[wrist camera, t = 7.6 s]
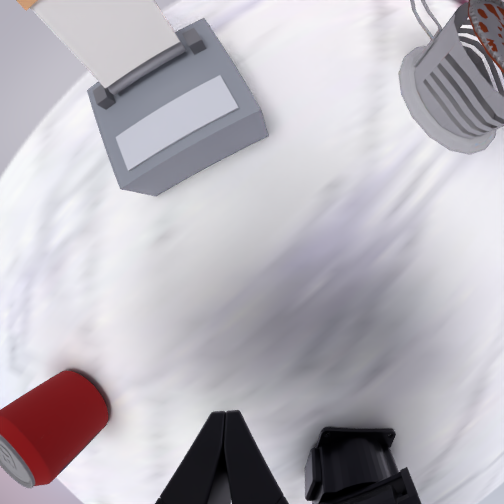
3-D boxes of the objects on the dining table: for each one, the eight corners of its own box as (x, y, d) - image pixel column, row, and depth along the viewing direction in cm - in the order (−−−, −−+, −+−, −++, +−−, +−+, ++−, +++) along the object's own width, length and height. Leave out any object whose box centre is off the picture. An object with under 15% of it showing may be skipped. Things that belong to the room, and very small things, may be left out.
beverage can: (62, 408, 25) (-8, 463, 13) (57, 356, 24) (-31, 406, 12) (114, 435, 24) (48, 508, 12) (112, 383, 23) (27, 456, 11)
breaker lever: (191, 54, 14) (103, -78, 5) (113, 102, 15) (10, -7, 6) (186, 43, 15) (106, -77, 6) (112, 89, 16) (20, -13, 7)
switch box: (268, 136, 20) (258, 101, 14) (155, 196, 21) (110, 187, 15) (220, 54, 20) (199, 8, 14) (121, 111, 21) (77, 84, 15)
